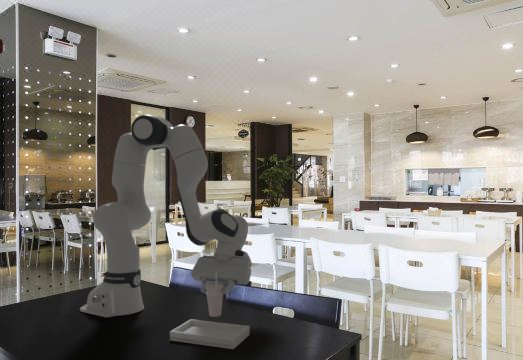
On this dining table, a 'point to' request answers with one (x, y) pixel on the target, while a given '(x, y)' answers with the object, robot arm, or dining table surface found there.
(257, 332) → the dining table surface
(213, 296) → the smoothie
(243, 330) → the tray
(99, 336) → the dining table surface
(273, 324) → the dining table surface
